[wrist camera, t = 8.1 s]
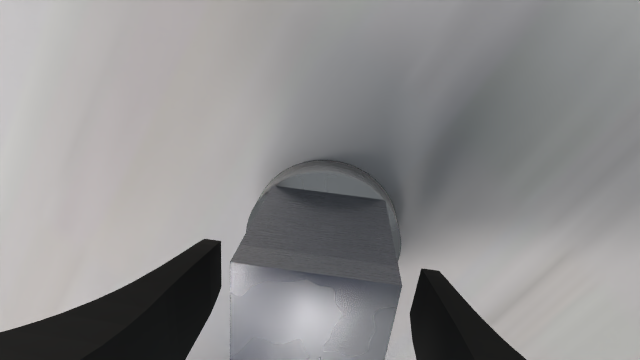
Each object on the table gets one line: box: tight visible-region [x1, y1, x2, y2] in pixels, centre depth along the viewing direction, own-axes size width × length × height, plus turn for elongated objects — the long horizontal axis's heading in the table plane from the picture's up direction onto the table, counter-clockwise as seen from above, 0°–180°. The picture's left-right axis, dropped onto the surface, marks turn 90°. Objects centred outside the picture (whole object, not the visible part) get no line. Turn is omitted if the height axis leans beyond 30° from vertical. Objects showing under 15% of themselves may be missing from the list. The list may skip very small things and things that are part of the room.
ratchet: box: [246, 160, 401, 262], centre depth 16 cm, size 16×6×4 cm, turn 174°
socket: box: [230, 185, 402, 360], centre depth 12 cm, size 4×4×5 cm
